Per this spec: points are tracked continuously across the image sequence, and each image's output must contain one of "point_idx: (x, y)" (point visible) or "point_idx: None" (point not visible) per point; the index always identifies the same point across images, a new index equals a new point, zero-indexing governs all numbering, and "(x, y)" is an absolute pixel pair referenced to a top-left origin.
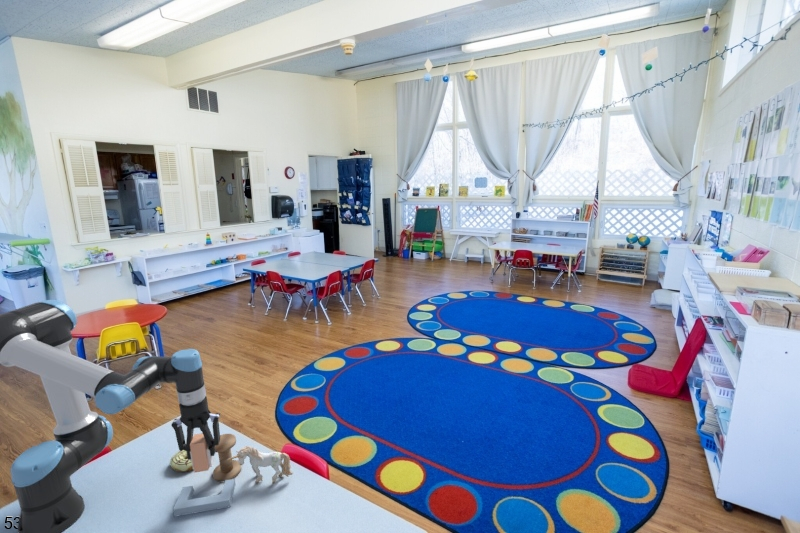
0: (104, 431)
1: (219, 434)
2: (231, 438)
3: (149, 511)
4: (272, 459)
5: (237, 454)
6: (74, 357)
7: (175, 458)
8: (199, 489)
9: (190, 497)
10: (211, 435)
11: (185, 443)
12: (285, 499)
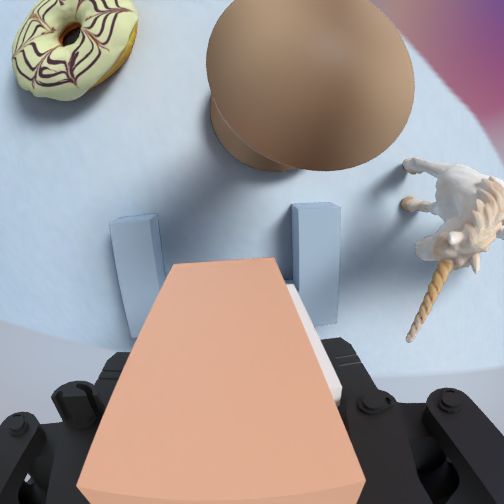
0: None
1: (501, 457)
2: (379, 49)
3: (47, 284)
4: None
5: (446, 256)
6: None
7: (23, 56)
8: (176, 201)
9: (159, 257)
10: (414, 498)
11: (33, 439)
12: (472, 295)
